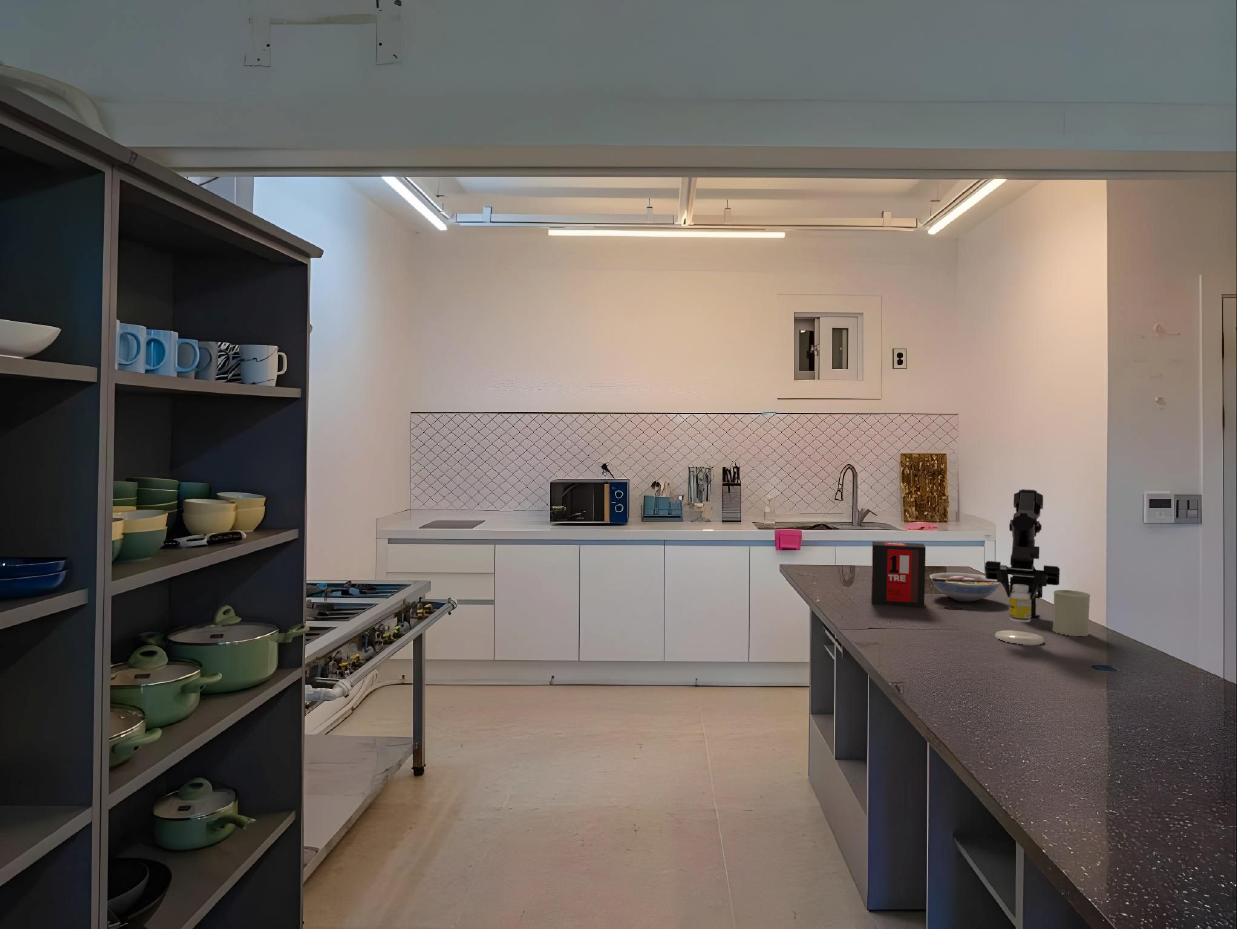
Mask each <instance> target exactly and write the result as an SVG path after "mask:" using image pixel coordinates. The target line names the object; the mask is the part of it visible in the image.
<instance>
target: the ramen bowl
mask: <svg viewBox="0 0 1237 929" xmlns="http://www.w3.org/2000/svg"><path fill="white" fill-rule="evenodd" d="M929 577H930V580H931V582H932V584H933V585H934V586H935V588H936V590H938V592H940V593H941V594H943V595H945V596H947V597H949V598H951V599H953V600H955V601H957V602H970V603H971V602H976V601H978V600H982V599H985V598H988V597H989V596H991V595H993V594H994V593H995V592H996V590H997V589H998V588H999V587H1000V585H1002V583H1001V582H997V580H992V579H987V578H986V576H985V575H983V574H975V573H966V572H965V573H964V572H963V573H961V572H938V573H932V574H930V575H929ZM1009 584H1010V581H1009Z"/></svg>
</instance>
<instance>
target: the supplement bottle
mask: <svg viewBox="0 0 1237 929" xmlns="http://www.w3.org/2000/svg"><path fill="white" fill-rule="evenodd" d="M1028 590H1029V586H1027V585H1023V584H1014V585H1013V592H1012V593H1010V597H1009V612H1008V614H1009V615H1008V616H1009V617H1008V618H1009V619H1010V620H1011V621H1014V622H1018V623H1029V622H1031V620H1032V617H1031V595H1030V594H1029V593H1028Z"/></svg>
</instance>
